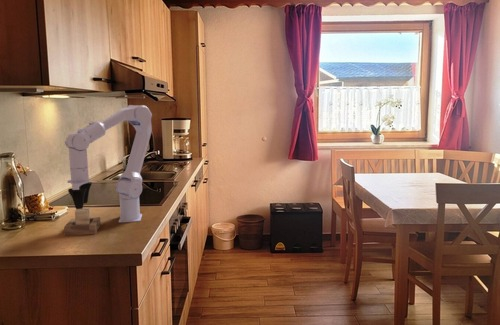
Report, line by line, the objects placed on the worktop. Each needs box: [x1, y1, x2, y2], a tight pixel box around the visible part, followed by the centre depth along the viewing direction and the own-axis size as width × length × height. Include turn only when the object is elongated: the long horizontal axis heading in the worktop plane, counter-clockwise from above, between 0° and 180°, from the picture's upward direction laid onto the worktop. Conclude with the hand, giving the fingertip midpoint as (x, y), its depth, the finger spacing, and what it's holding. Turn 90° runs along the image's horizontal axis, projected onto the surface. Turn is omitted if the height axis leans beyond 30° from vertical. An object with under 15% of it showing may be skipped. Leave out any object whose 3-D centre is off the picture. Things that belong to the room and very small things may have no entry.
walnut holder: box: [63, 216, 102, 236], centre depth 145 cm, size 10×10×3 cm
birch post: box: [74, 207, 91, 225], centre depth 145 cm, size 4×4×7 cm
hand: (81, 205), depth 144 cm, fingers open, 7 cm apart
